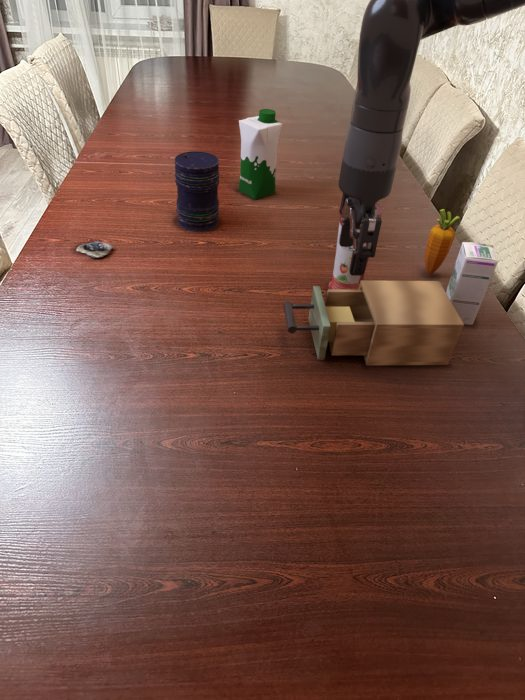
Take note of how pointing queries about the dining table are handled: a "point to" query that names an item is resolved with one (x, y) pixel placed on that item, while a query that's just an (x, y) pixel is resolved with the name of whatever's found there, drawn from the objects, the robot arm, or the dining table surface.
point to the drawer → (347, 334)
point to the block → (338, 318)
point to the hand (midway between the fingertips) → (350, 259)
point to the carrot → (439, 242)
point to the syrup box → (471, 279)
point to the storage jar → (197, 190)
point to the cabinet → (410, 323)
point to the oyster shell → (95, 249)
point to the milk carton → (259, 154)
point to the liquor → (346, 263)
